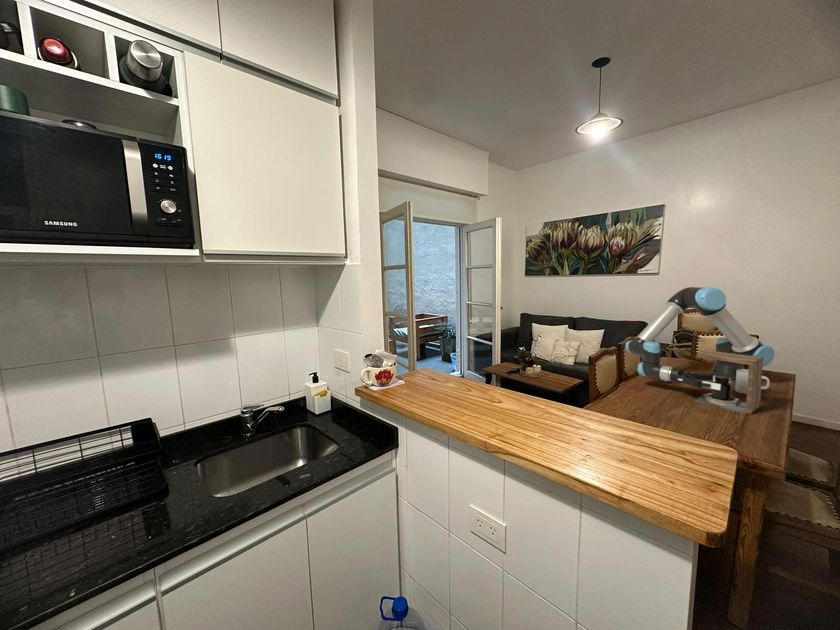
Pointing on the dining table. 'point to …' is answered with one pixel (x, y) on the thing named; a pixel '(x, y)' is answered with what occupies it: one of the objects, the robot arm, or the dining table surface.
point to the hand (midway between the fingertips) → (725, 384)
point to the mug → (746, 381)
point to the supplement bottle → (722, 389)
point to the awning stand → (753, 382)
